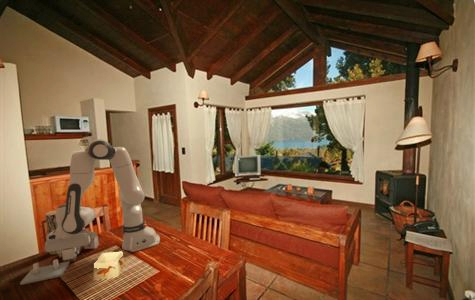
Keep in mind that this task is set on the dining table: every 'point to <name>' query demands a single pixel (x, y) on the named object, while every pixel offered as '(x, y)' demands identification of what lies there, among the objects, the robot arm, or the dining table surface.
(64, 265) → the pinboard
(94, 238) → the grey box
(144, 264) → the dining table surface
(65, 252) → the sleeve
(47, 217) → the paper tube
